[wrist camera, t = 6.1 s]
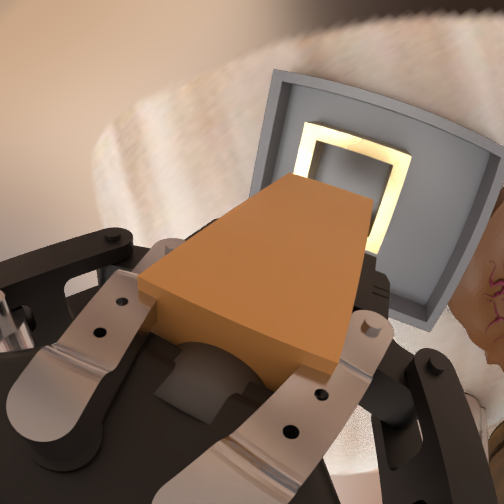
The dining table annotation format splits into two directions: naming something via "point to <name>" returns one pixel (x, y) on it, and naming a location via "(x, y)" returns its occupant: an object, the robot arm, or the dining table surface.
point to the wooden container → (497, 461)
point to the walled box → (374, 176)
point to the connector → (260, 292)
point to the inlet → (365, 145)
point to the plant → (485, 290)
